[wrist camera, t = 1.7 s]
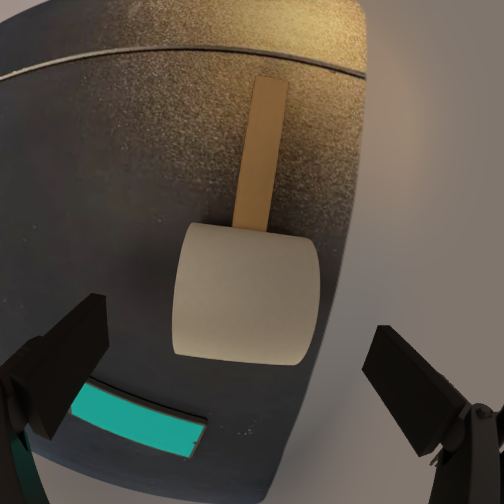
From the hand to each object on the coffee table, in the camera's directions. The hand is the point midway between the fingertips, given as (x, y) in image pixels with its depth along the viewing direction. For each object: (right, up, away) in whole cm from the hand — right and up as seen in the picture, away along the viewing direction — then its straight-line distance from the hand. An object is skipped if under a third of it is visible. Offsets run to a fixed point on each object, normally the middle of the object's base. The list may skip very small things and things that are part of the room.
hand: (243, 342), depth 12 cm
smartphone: (-12, -13, +12) cm, 22 cm away
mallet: (0, +7, +8) cm, 10 cm away
